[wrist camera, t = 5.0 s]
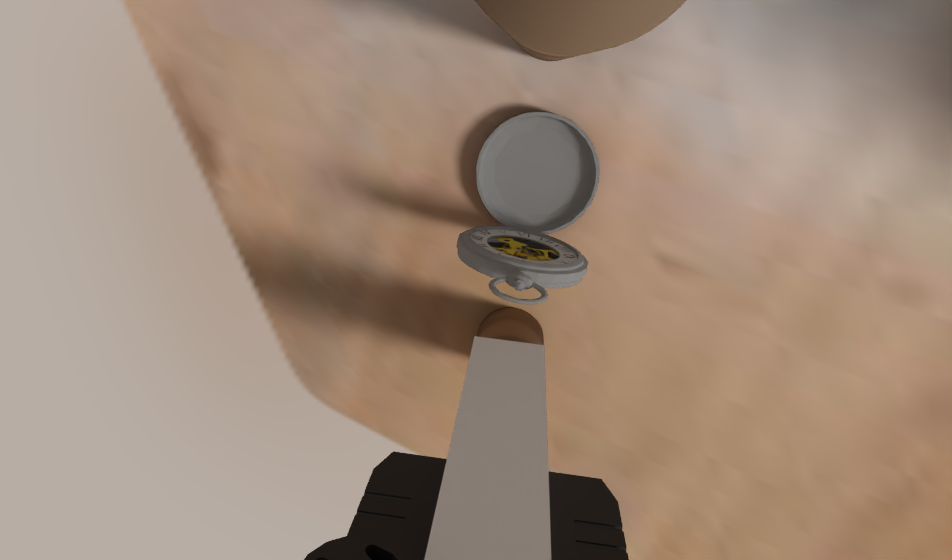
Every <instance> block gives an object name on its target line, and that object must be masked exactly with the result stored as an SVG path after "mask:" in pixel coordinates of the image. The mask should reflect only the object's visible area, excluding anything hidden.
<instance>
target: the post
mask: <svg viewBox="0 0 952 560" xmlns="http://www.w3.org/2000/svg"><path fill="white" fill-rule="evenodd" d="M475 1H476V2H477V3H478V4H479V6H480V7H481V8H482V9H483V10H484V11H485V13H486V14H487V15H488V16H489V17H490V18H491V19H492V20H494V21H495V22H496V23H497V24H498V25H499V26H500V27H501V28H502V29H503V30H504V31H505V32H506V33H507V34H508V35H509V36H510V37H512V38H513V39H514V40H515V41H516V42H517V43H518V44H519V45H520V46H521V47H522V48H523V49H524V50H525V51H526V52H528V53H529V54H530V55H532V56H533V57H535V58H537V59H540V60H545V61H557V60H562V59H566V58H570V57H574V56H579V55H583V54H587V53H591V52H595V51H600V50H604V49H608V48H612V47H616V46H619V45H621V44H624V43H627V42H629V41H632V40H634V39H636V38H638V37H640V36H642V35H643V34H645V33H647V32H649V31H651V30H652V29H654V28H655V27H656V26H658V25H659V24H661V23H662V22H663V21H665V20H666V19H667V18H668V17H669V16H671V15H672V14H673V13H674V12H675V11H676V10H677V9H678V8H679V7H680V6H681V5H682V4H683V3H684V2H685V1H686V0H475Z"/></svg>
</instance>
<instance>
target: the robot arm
mask: <svg viewBox="0 0 952 560" xmlns="http://www.w3.org/2000/svg"><path fill="white" fill-rule="evenodd" d="M304 560H629V559H628V553H626V543H625V537H624V532H623V531H622V522H621V516H620V511H619V506H618V501H617V500H616V499H615V497H614V496H613V494H612V493H611V492H610V490H609V489H608V488H607V486H606V485H605V483H604V482H603V481H602V479H598V478H591V477H584V476H577V475H569V474H562V473H555V472H549V471H548V439H547V408H546V377H545V345H539V344H531V343H523V342H516V341H508V340H500V339H493V338H485V337H477V336H474V341H473V345H472V350H471V354H470V359H469V363H468V367H467V372H466V376H465V381H464V385H463V390H462V394H461V399H460V403H459V408H458V412H457V416H456V421H455V425H454V430H453V434H452V439H451V443H450V448H449V452H448V457H447V459H442V458H435V457H428V456H421V455H414V454H407V453H400V452H393V453H391V454H390V455H389V456H388V457H387V458H386V459H384V460H383V461H382V462H381V463H380V464H379V465H378V466H376V467H375V468H374V470H373V472H372V475H371V477H370V479H369V482H368V484H367V487H366V489H365V493H364V496H363V497H362V500H361V502H360V504H359V507H358V509H357V514H356V515H355V517H354V520H353V522H352V524H351V527H350V529H349V532H348V535H347V536H346V537H342V538H339V539H335V540H332V541H329V542H326V543H324V544H323V545H321V546H320V547H318V548H317V549H315V550H314V551H312V552H311V553H309V554H308V555H307V556H306V558H305V559H304Z"/></svg>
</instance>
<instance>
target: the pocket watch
mask: <svg viewBox="0 0 952 560" xmlns="http://www.w3.org/2000/svg"><path fill="white" fill-rule="evenodd" d="M598 183H599V161H598V157H597V154H596V152H595V149H594V147H593V144H592V142H591V140H590V138H589V137H588V136H587V135H586V134H585V133H584V132H583V131H582V130H581V129H580V128H579V127H578V126H577V125H576V124H575V123H574V122H573V121H572V120H570V119H567V118H565V117H562V116H560V115H557V114H554V113H551V112H526V113H523V114H520V115H518V116H515V117H512V118H510V119H507V120H506V121H505V122H503V123H502V124H501V125H499V126H498V127H497V128H495V129H494V131H493V132H492V133H491V134H490V135H489V136H488V138H487V139H486V140H485V143H484V145H483V147H482V149H481V151H480V153H479V156H478V159H477V165H476V184H477V189H478V192H479V195H480V197H481V200H482V202H483V204H484V205H485V207H486V208H487V210H488V211H489V212H490V214H491V215H492V216H493V217H494V218H495V219H496V220H497V221H499V222H500V223H501V224H503V225H504V226H506V227H504V226H483V227H476V228H472V229H470V230H467V231H465V232H463V233H461V234H460V235H459V238H458V241H457V248H458V256H459V258H460V259H461V261H463V262H464V263H465V264H466V265H468V266H469V267H471V268H473V269H474V270H476V271H478V272H480V273H483V274H485V275H487V276H490V277H492V278H495V279H493V280H492V281H490V283H489V288H490V289H491V291H492V292H493V293H494V294H495V295H497V296H499V297H500V298H502V299H505V300H508V301H511V302H514V303H520V304H527V305H532V304H538V303H542V302H544V301H545V300H546V299H547V297H548V294H547V291H546V290H545V289H544V288H565V287H571V286H574V285H576V284H578V283H579V282H580V281H581V280H582V278H583V277H584V275H585V273H586V270H587V265H588V261H587V260H586V258H585V257H584V256H583V255H582V254H581V253H580V252H579V251H578V250H577V249H575V248H574V247H572V246H570V245H569V244H567V243H565V242H563V241H561V240H558V239H556V238H553V237H551V236H548V235H545V234H549V233H552V232H555V231H558V230H562V229H564V228H566V227H568V226H569V225H571V224H572V223H574V222H575V221H576V220H577V219H578V218H580V217H581V216H582V215H583V213H584V212H585V211H586V210H587V208H588V207H589V206H590V205H591V203H592V200H593V198H594V196H595V194H596V191H597V187H598ZM511 255H512V256H511ZM504 281H506V282H507V283H508V284H509V285H510V286H512V287H514V288H515V289H516V290H520V291H521V290H522V289H529V288H531V287H534V288H535V289H537V290H538V291H539V292H541V295H542V296H541V297H539V298H538V299H532V300H527V299H516V298H514V297H511V296H508V295H506V294H503V293H501V292H500V291H499V290H498V289H497V288H496V287H495V285H496V284H498V283H501V282H504Z"/></svg>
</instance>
